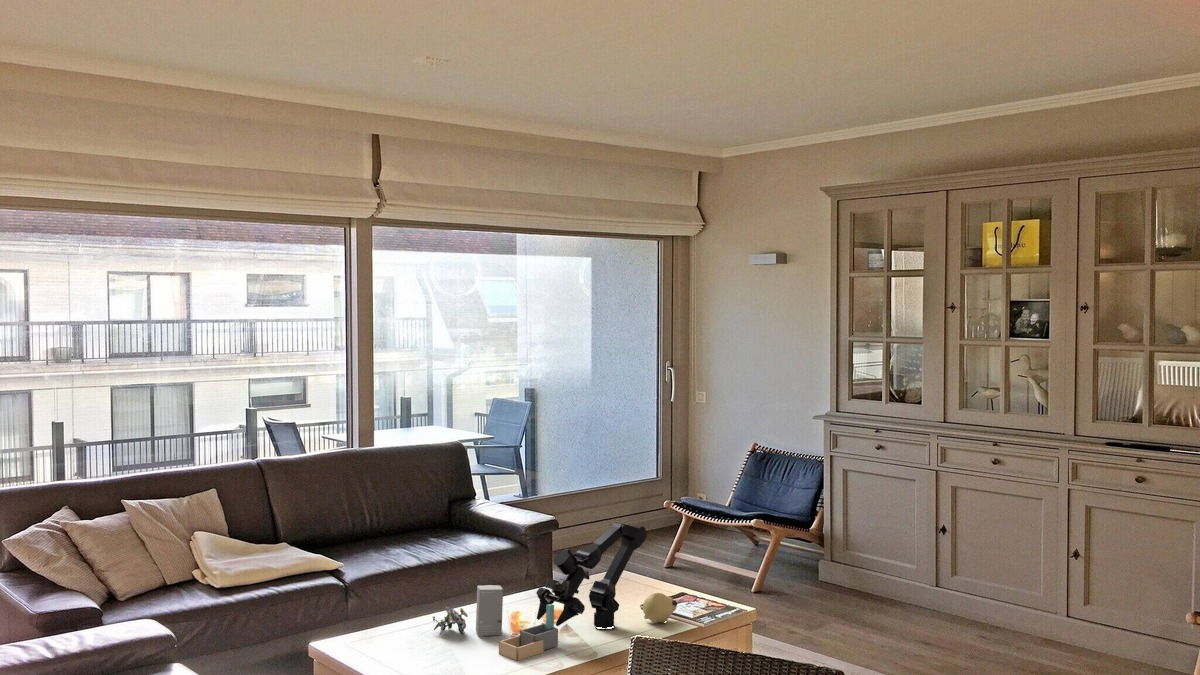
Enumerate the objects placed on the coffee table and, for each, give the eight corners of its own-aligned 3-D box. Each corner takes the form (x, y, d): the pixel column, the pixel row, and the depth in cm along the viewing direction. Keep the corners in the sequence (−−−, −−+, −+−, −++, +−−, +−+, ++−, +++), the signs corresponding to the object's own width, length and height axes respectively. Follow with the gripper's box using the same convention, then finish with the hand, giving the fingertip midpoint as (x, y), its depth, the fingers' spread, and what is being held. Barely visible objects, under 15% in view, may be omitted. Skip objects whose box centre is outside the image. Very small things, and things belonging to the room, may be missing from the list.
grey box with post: (544, 640, 323) (545, 602, 323) (559, 645, 318) (559, 606, 318) (519, 647, 315) (520, 608, 315) (534, 653, 310) (534, 613, 310)
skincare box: (478, 637, 326) (478, 590, 326) (475, 630, 333) (475, 584, 333) (503, 635, 328) (503, 588, 328) (499, 628, 335) (500, 583, 335)
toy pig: (681, 623, 344) (681, 593, 344) (654, 629, 337) (654, 598, 337) (664, 616, 352) (665, 586, 352) (637, 621, 345) (638, 591, 345)
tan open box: (524, 645, 318) (525, 633, 318) (543, 652, 312) (543, 640, 312) (498, 653, 310) (499, 641, 310) (517, 660, 304) (517, 648, 304)
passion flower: (462, 650, 329) (472, 627, 323) (430, 648, 325) (441, 624, 319) (458, 623, 338) (469, 600, 332) (428, 620, 334) (438, 597, 328)
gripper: (540, 563, 329) (515, 602, 321) (579, 574, 316) (553, 615, 308) (557, 582, 335) (532, 621, 327) (595, 593, 322) (571, 634, 314)
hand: (546, 622), depth 319 cm, fingers open, 9 cm apart
